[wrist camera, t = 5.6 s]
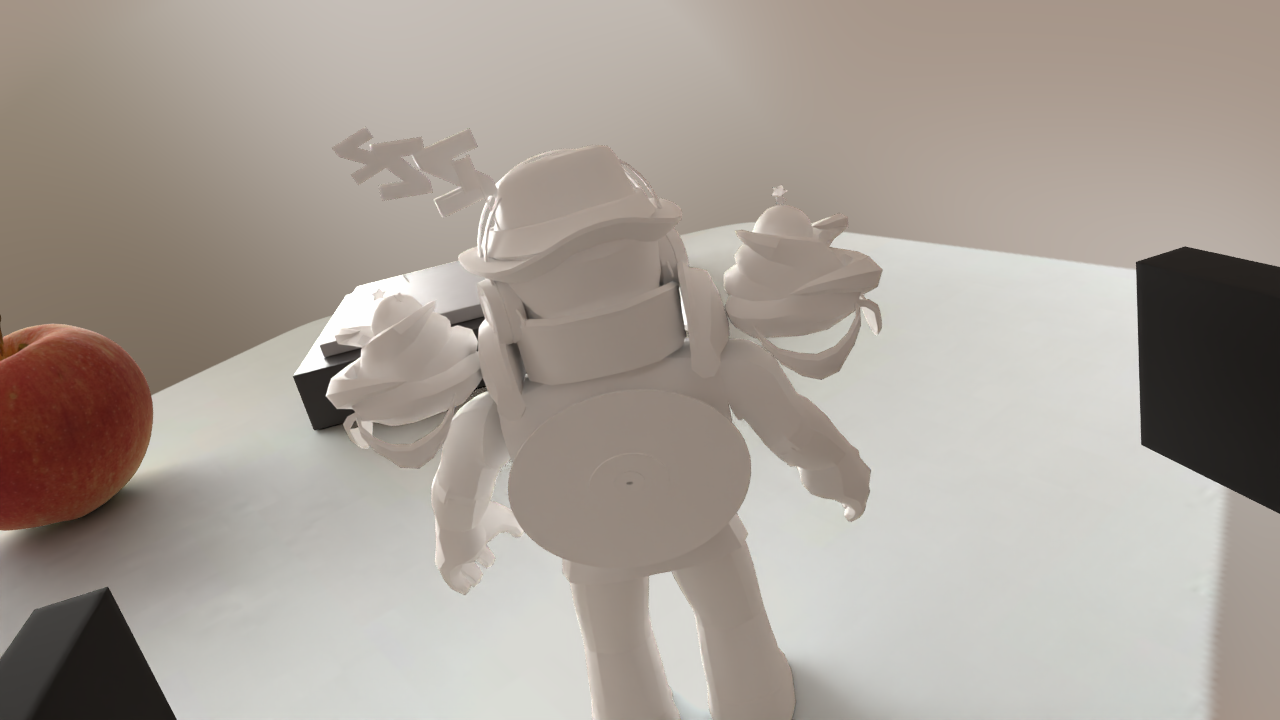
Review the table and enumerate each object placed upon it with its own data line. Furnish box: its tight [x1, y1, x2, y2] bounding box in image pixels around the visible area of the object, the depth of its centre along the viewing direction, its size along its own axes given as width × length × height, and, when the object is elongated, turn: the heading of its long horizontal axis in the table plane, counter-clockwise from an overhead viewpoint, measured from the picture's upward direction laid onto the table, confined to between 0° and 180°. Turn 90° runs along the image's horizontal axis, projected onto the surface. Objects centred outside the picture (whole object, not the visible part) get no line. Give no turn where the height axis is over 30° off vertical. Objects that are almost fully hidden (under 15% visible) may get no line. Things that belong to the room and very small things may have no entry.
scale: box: [293, 261, 527, 430], centre depth 43 cm, size 14×13×3 cm
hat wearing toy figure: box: [326, 127, 882, 720], centre depth 15 cm, size 9×4×12 cm, turn 91°
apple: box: [0, 316, 153, 531], centre depth 34 cm, size 8×8×8 cm
